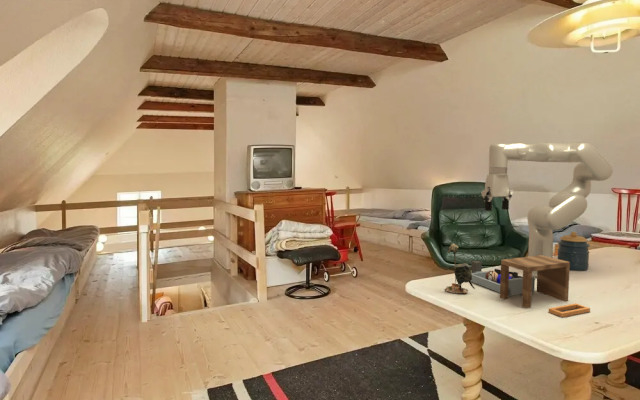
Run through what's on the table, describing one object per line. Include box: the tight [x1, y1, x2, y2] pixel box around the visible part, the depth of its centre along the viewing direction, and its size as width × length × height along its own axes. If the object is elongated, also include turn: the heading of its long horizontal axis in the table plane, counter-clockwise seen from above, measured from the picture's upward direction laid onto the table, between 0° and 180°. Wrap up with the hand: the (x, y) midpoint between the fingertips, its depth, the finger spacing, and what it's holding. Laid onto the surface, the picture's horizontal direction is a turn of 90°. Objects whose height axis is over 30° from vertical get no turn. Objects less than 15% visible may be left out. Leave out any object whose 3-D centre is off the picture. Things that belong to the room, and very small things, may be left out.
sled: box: [470, 260, 536, 297], centre depth 160 cm, size 13×26×7 cm, turn 20°
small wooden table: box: [499, 255, 570, 309], centre depth 142 cm, size 20×12×15 cm, turn 110°
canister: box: [556, 231, 591, 272], centre depth 185 cm, size 13×13×18 cm
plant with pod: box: [444, 243, 476, 294], centre depth 151 cm, size 8×11×20 cm
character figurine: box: [485, 268, 523, 284], centre depth 156 cm, size 8×7×15 cm
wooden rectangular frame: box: [548, 303, 591, 318], centre depth 130 cm, size 13×5×1 cm, turn 110°
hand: (496, 209), depth 171 cm, fingers open, 9 cm apart
